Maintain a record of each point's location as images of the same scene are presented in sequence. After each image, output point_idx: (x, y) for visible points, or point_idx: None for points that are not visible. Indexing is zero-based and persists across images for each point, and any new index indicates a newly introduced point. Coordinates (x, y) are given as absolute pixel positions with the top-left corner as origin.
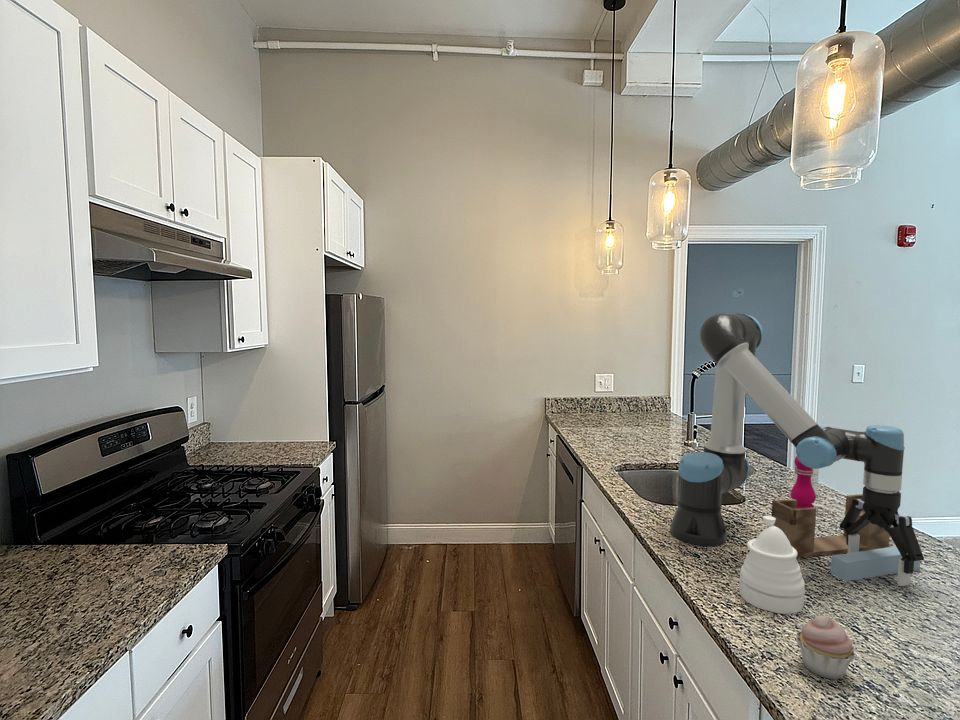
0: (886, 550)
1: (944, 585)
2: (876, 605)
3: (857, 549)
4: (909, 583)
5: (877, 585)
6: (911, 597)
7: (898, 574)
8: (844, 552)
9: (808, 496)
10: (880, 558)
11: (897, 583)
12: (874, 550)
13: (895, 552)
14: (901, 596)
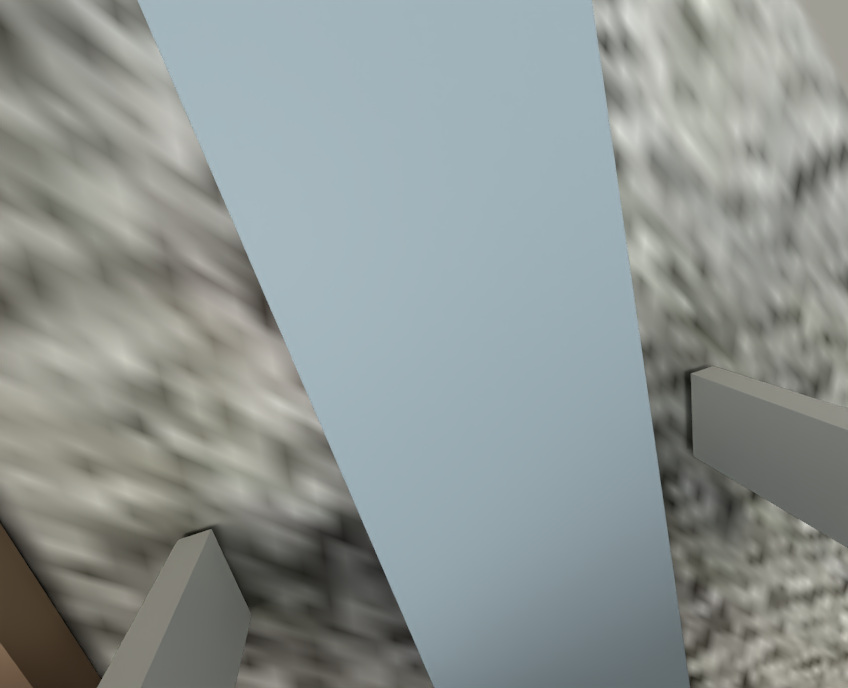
0: (457, 465)
1: (742, 9)
2: (825, 668)
3: (170, 658)
4: (726, 374)
5: None
6: None
7: (789, 508)
8: (39, 612)
9: None
10: (677, 656)
11: (703, 461)
12: (460, 656)
13: (543, 345)
14: None
